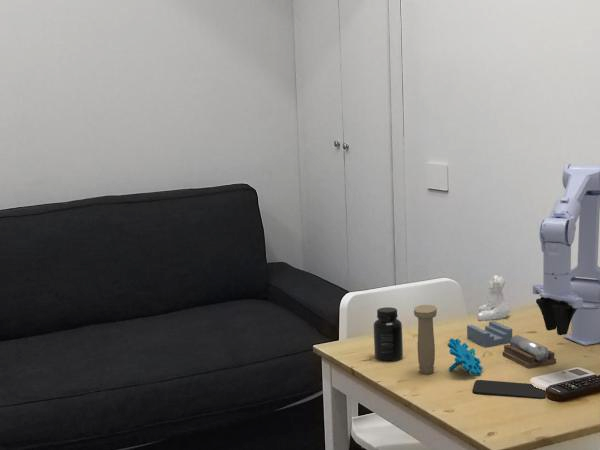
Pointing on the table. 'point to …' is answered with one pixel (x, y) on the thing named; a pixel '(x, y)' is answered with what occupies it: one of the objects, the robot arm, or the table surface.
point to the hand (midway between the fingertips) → (556, 332)
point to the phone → (507, 389)
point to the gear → (464, 357)
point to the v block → (490, 334)
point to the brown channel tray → (526, 357)
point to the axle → (530, 347)
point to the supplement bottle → (388, 335)
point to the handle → (426, 337)
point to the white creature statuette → (494, 302)
